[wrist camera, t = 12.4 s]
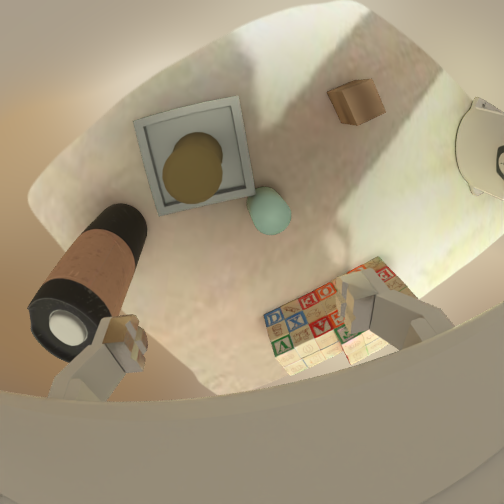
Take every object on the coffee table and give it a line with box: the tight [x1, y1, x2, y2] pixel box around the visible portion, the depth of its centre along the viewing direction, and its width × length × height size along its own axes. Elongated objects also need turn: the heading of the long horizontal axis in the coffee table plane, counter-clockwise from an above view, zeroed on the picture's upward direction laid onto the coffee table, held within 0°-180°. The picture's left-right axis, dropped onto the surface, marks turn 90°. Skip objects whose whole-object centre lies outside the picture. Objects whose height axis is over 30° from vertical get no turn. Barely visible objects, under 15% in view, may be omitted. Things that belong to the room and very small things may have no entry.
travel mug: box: [27, 204, 147, 363], centre depth 26 cm, size 8×8×20 cm
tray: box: [133, 96, 256, 216], centre depth 31 cm, size 12×12×2 cm
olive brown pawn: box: [162, 132, 223, 204], centre depth 26 cm, size 6×6×11 cm
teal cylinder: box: [247, 187, 291, 235], centre depth 34 cm, size 4×4×5 cm
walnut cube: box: [327, 79, 386, 126], centre depth 29 cm, size 4×4×4 cm
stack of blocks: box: [264, 257, 418, 376], centre depth 40 cm, size 21×6×12 cm, turn 116°
